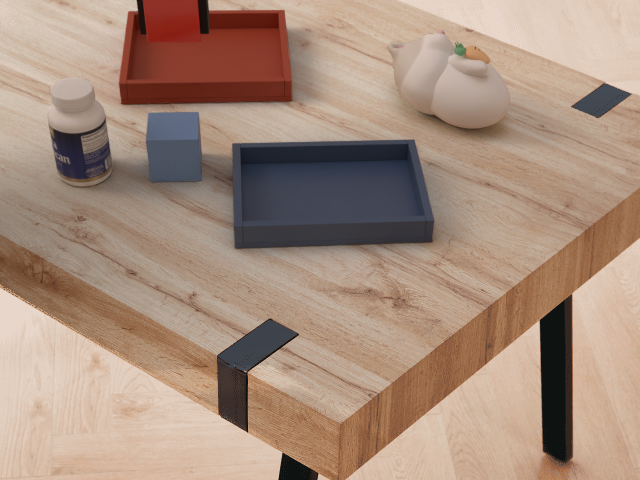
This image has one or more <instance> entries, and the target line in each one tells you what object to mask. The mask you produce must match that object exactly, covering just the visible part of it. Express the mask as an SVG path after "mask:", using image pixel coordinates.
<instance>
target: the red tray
mask: <svg viewBox="0 0 640 480" xmlns="http://www.w3.org/2000/svg"><path fill="white" fill-rule="evenodd" d="M126 16H127V17H126V25H125V32H124V40H123V49H122V56H121V64H120V70H119V80H118V88H119V96H120V104H121V105H143V104H144V105H147V104H149V105H150V104H151V105H153V104H155V105H156V104H203V103H205V104H206V103H208V104H210V103H212V104H213V103H253V102H255V103H260V102H263V103H264V102H268V103H269V102H292V101H293V81H292V71H291V60H290V59H291V58H290V51H289V39H288V30H287V19H286V10H285V9H233V10H232V9H231V10H230V9H229V10H227V9H225V10H223V9H222V10H221V9H219V10H218V9H217V10H216V9H215V10H213V9H211V10H210V9H209V19H210V23H209V34H201V42H148V40H147V35H141V33H140V25H139V17H138V10H128V11H127V15H126Z"/></svg>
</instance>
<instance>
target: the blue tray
mask: <svg viewBox="0 0 640 480" xmlns="http://www.w3.org/2000/svg"><path fill="white" fill-rule="evenodd" d="M231 147H232V149H231V151H232V152H231V154H232V157H231V158H232V203H233V205H232V207H233V237H234V249H259V248H260V249H261V248H289V247H318V246H319V247H321V246H346V245H348V246H349V245H350V246H351V245H379V244H406V243H407V244H408V243H409V244H410V243H411V244H412V243H433V238H434V229H435V217H434V213H433V209H432V204H431V201H430V196H429V191H428V187H427V184H426V181H425V175H424V172H423V167H422V164H421V160H420V156H419V155H420V154H419V151H418V147H417V144H416V139H414V138H413V139H370V140H369V139H368V140H367V139H366V140H324V141H323V140H320V141H319V140H317V141H278V142H277V141H275V142H274V141H272V142H271V141H270V142H233V143H231Z"/></svg>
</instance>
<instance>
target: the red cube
mask: <svg viewBox="0 0 640 480" xmlns="http://www.w3.org/2000/svg"><path fill="white" fill-rule="evenodd" d="M143 6H144V15H145V23H146V32H147V40H148V42H201V26H200V13H199V1H198V0H143Z"/></svg>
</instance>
